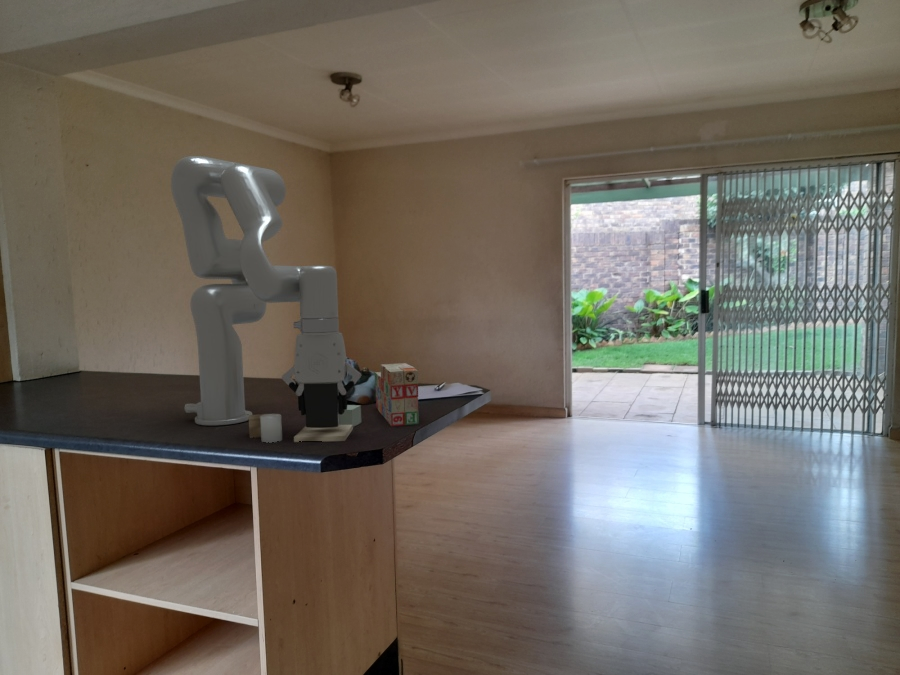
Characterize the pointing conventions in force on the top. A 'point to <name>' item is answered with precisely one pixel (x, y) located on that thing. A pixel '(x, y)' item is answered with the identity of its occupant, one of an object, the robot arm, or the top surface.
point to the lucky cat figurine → (361, 385)
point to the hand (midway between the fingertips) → (323, 412)
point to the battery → (321, 405)
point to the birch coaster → (324, 433)
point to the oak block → (255, 425)
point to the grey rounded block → (271, 428)
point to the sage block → (351, 415)
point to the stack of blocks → (397, 394)
